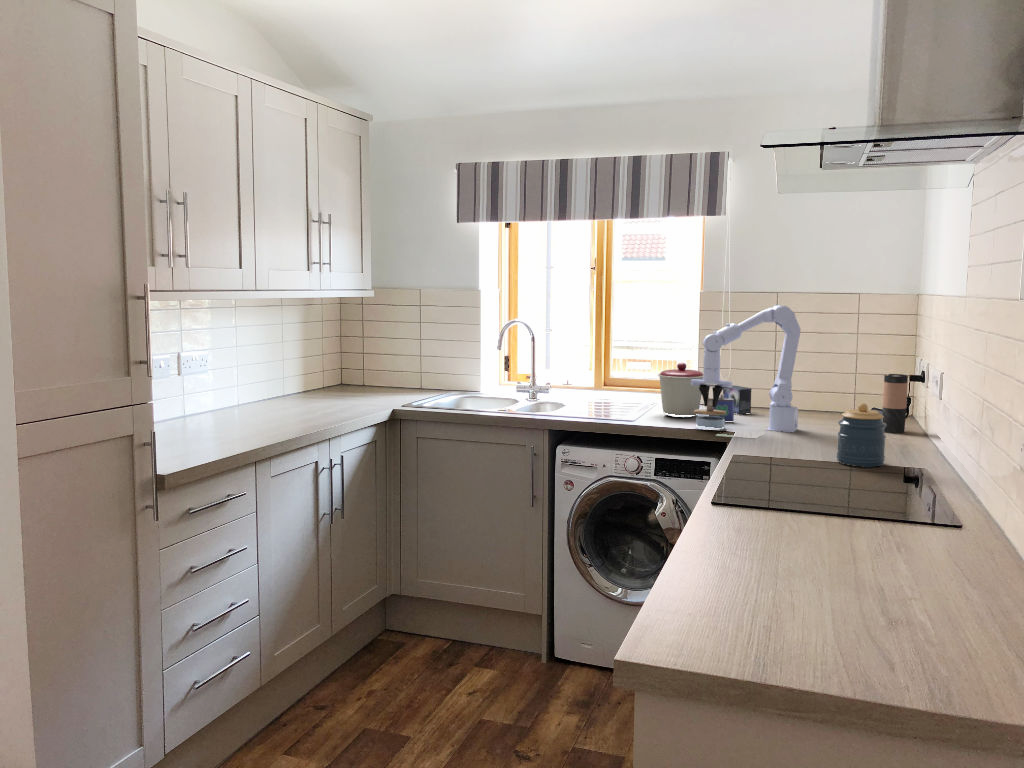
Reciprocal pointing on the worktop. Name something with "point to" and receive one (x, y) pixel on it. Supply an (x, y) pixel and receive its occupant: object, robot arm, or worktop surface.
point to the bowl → (710, 421)
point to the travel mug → (895, 402)
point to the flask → (725, 408)
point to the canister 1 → (680, 390)
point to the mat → (724, 435)
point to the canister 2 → (861, 437)
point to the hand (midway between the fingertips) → (710, 406)
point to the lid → (709, 409)
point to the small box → (739, 398)
